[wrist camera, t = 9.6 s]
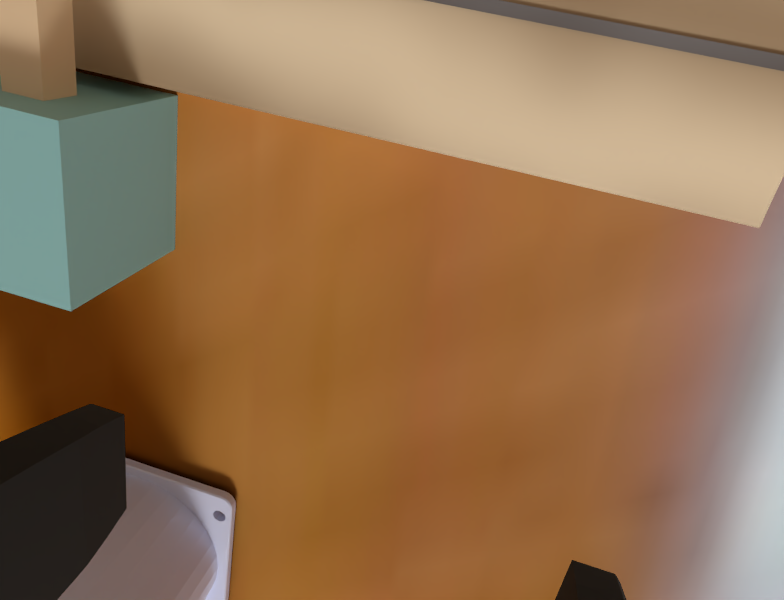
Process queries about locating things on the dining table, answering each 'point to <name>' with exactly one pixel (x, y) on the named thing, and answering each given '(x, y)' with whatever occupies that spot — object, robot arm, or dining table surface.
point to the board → (492, 82)
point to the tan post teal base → (77, 165)
